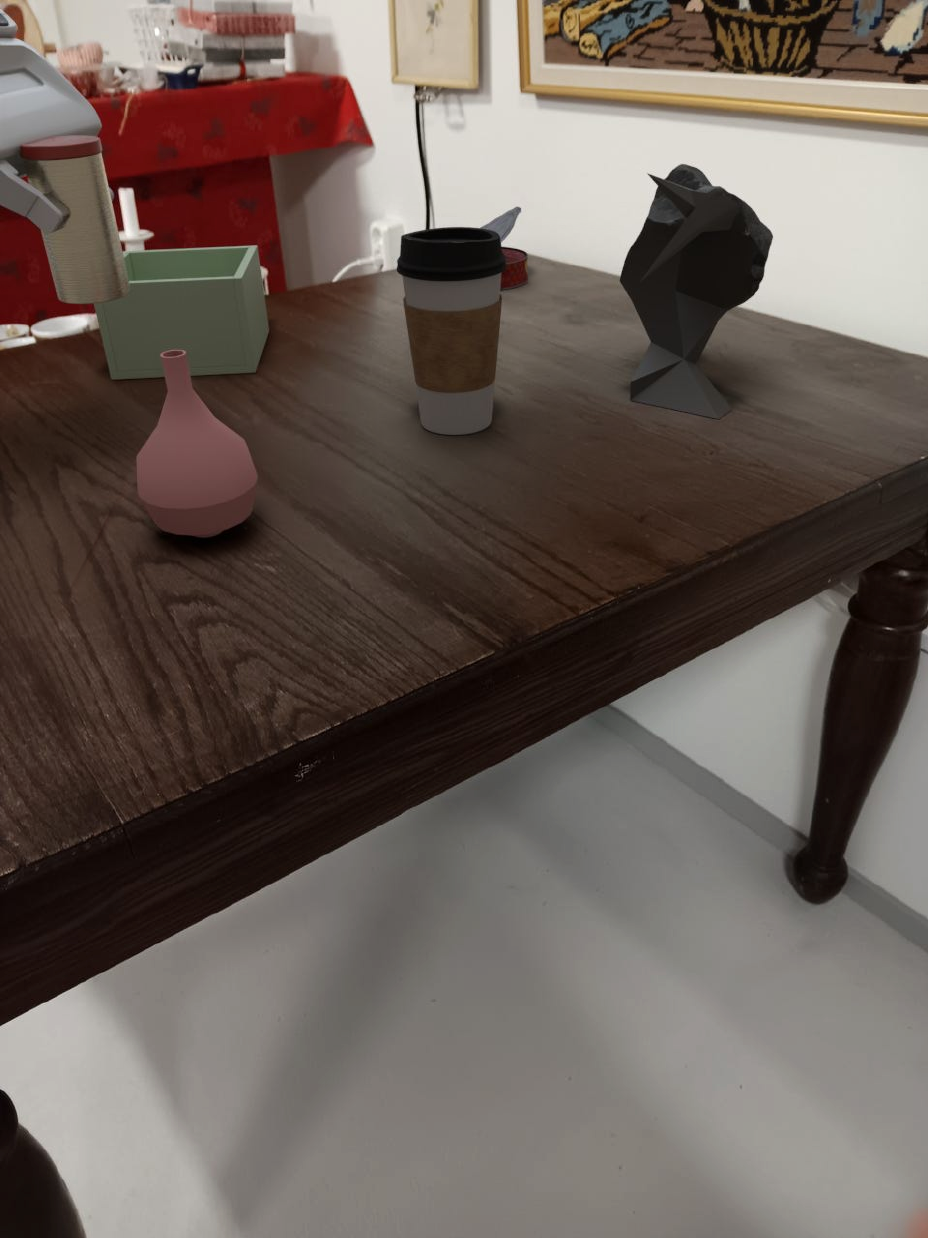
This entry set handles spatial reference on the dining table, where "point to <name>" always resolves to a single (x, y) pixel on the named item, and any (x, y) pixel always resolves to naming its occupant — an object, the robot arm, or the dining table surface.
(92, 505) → the dining table surface
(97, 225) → the spice tin
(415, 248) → the coffee cup
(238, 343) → the tote
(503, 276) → the canned food
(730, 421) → the dining table surface
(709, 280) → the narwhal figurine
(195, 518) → the pink vase
